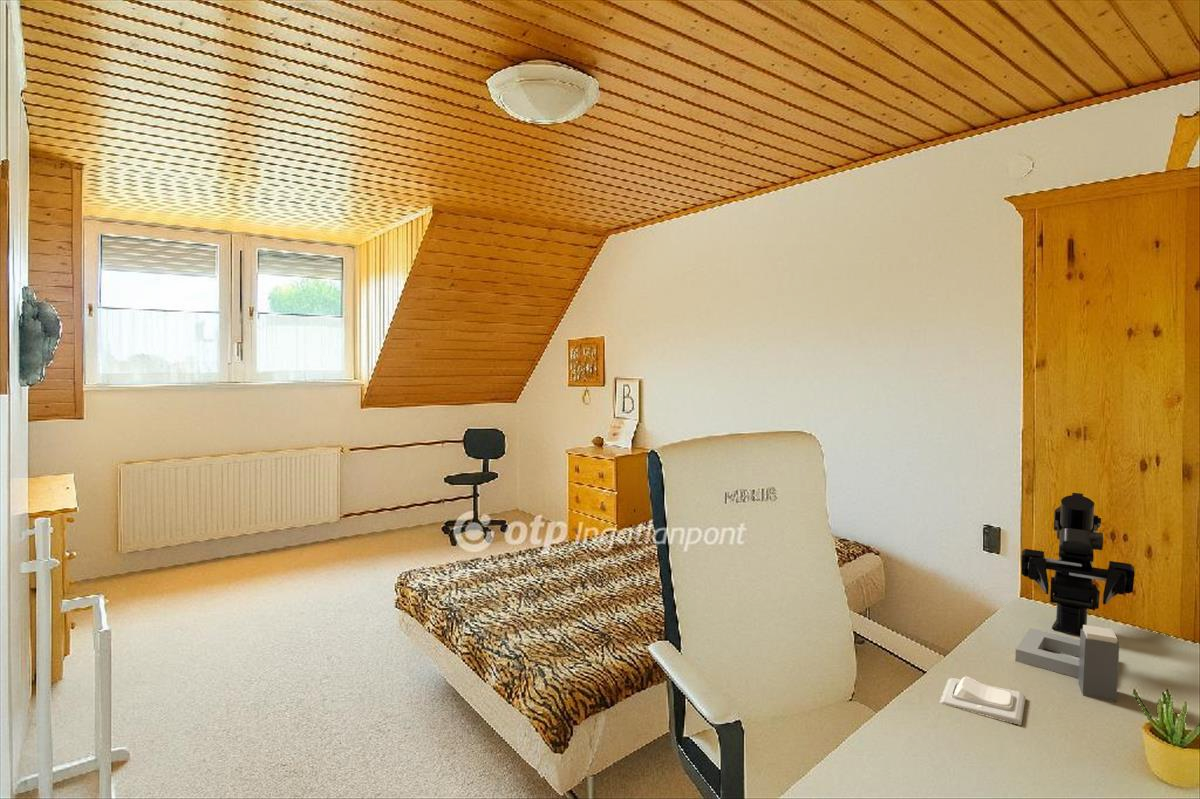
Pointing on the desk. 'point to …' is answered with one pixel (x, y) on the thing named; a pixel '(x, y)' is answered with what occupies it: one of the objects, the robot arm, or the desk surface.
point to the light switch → (984, 699)
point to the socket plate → (1036, 656)
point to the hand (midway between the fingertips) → (1075, 597)
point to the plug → (1098, 663)
